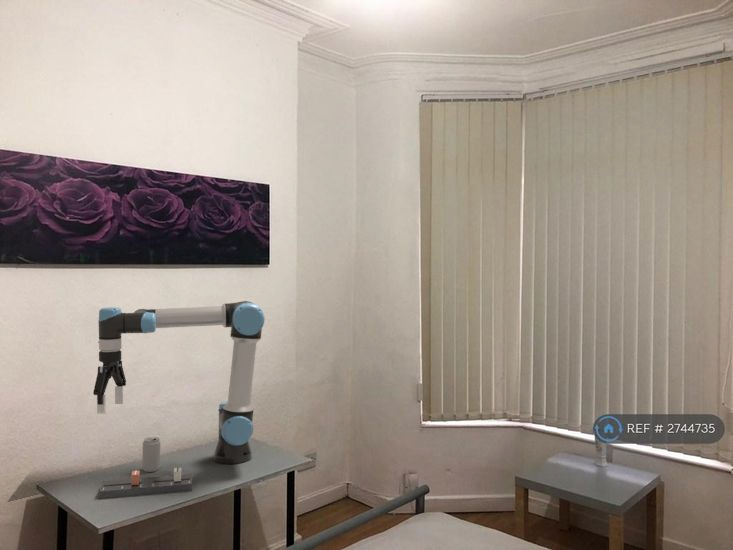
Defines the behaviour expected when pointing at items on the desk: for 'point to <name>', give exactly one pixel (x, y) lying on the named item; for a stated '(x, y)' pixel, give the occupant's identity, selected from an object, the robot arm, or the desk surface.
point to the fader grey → (177, 474)
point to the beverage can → (151, 454)
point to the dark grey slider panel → (145, 486)
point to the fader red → (135, 477)
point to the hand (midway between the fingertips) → (110, 408)
